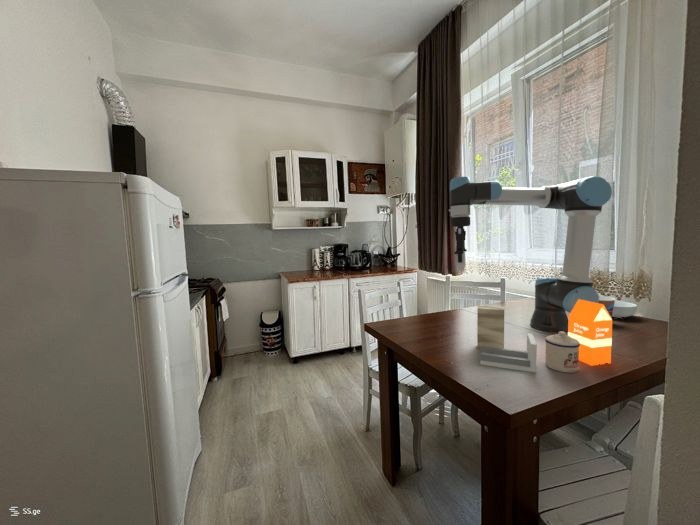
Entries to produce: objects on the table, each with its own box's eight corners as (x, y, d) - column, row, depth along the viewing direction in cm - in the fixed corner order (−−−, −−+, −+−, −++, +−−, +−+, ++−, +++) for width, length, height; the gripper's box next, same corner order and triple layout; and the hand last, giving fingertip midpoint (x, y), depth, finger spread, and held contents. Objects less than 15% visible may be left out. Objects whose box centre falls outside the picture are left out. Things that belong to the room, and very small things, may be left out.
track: (480, 364, 98) (480, 338, 98) (481, 352, 108) (481, 328, 107) (536, 372, 91) (536, 344, 91) (531, 359, 101) (532, 333, 100)
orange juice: (591, 365, 95) (593, 305, 93) (566, 355, 103) (568, 299, 102) (611, 363, 96) (613, 303, 94) (585, 353, 105) (587, 298, 103)
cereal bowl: (646, 320, 138) (647, 306, 138) (610, 321, 139) (611, 307, 138) (615, 311, 155) (616, 298, 155) (583, 312, 156) (583, 299, 155)
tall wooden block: (477, 345, 116) (478, 305, 114) (503, 348, 112) (503, 307, 110) (477, 349, 112) (477, 308, 110) (503, 352, 108) (504, 309, 106)
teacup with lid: (568, 376, 88) (569, 338, 87) (538, 364, 97) (539, 330, 96) (590, 367, 94) (591, 332, 93) (559, 357, 102) (560, 324, 101)
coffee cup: (607, 327, 131) (608, 301, 130) (581, 321, 141) (582, 297, 140) (619, 323, 136) (620, 298, 135) (593, 318, 145) (594, 294, 144)
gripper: (452, 218, 131) (453, 265, 132) (447, 215, 108) (448, 272, 110) (470, 217, 128) (471, 265, 129) (469, 214, 105) (470, 272, 107)
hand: (461, 268), depth 120 cm, fingers open, 13 cm apart
